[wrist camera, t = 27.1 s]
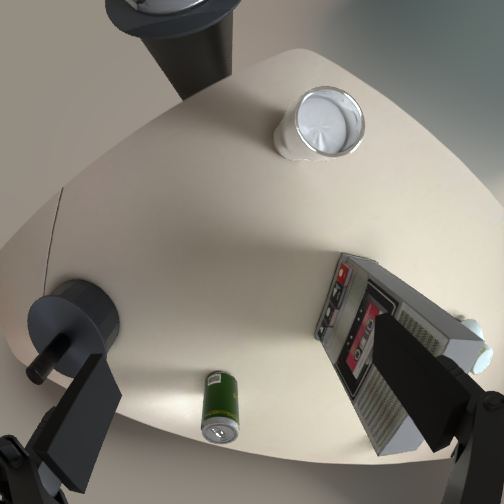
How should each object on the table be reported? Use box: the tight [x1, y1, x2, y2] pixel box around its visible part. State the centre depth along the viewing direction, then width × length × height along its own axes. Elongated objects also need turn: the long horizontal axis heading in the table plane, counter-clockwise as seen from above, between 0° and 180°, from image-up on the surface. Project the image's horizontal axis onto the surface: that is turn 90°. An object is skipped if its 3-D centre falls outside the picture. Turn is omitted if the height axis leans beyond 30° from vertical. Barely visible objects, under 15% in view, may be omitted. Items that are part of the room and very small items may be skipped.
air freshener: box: [461, 319, 493, 374], centre depth 44 cm, size 11×8×10 cm
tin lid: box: [26, 295, 107, 385], centre depth 31 cm, size 14×14×10 cm
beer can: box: [201, 371, 240, 444], centre depth 41 cm, size 5×5×12 cm
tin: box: [49, 280, 120, 353], centre depth 39 cm, size 13×13×8 cm
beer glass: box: [273, 86, 365, 161], centre depth 31 cm, size 7×7×15 cm
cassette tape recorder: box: [314, 253, 485, 456], centre depth 32 cm, size 14×6×25 cm, turn 166°
